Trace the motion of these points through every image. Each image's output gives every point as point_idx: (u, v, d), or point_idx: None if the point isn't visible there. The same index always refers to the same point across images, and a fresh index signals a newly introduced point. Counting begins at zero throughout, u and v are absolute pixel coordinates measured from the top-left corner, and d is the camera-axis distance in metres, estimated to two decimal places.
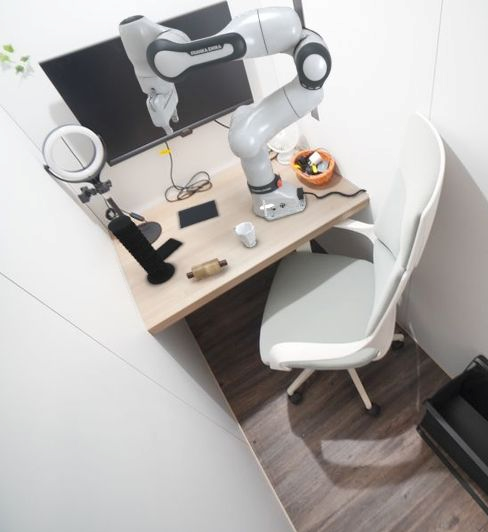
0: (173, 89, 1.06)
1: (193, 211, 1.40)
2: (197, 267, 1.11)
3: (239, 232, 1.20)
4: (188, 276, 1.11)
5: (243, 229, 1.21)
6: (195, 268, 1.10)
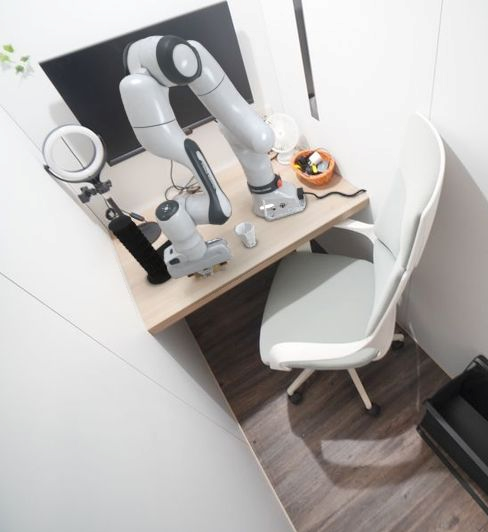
0: None
1: None
2: None
3: (239, 232, 1.20)
4: None
5: (243, 229, 1.21)
6: None
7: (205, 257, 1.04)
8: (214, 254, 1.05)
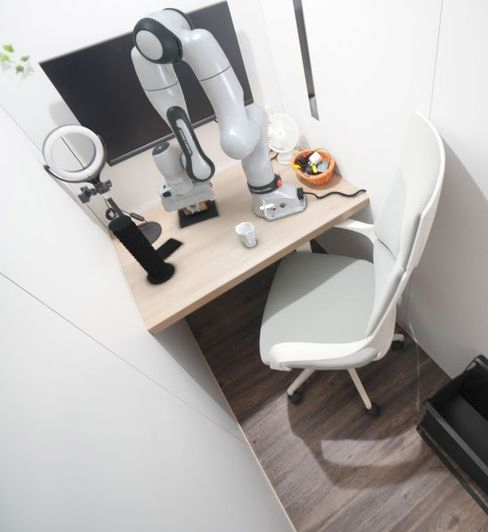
0: None
1: None
2: None
3: (239, 232, 1.20)
4: (179, 211, 1.36)
5: (243, 229, 1.21)
6: None
7: (192, 194, 1.29)
8: (200, 192, 1.29)
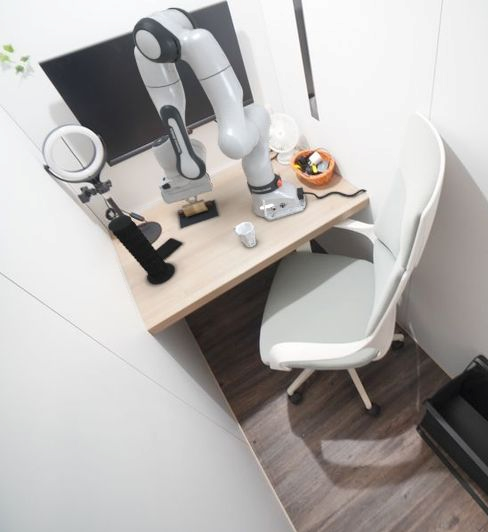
0: None
1: None
2: (186, 205, 1.35)
3: (239, 232, 1.20)
4: (179, 213, 1.35)
5: (243, 229, 1.21)
6: (185, 206, 1.35)
7: (191, 186, 1.32)
8: (198, 184, 1.33)
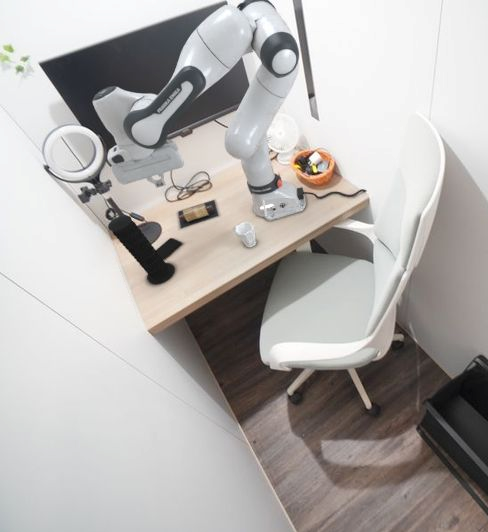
0: None
1: None
2: (187, 210, 1.33)
3: (239, 232, 1.20)
4: (180, 217, 1.33)
5: (243, 229, 1.21)
6: (185, 211, 1.32)
7: (153, 160, 0.99)
8: (163, 158, 1.00)
